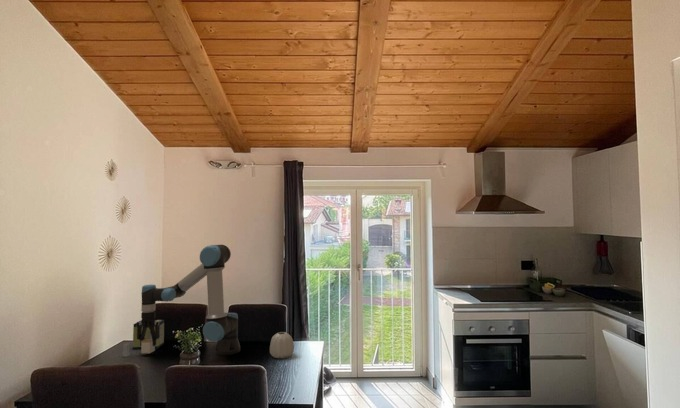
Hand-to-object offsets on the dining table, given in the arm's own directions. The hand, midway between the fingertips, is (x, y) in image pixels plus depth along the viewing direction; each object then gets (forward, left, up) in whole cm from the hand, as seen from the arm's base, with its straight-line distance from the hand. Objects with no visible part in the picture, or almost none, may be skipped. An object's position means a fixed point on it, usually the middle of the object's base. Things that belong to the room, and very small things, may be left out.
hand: (148, 351), depth 228 cm
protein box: (+10, -16, -2) cm, 19 cm away
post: (+12, +3, -2) cm, 12 cm away
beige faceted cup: (0, 0, 0) cm, 0 cm away
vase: (-79, -3, -2) cm, 79 cm away
